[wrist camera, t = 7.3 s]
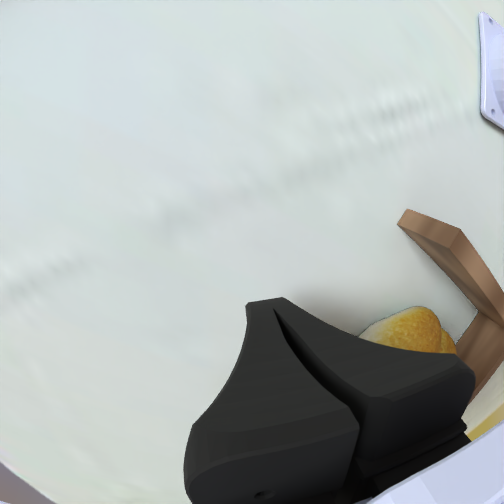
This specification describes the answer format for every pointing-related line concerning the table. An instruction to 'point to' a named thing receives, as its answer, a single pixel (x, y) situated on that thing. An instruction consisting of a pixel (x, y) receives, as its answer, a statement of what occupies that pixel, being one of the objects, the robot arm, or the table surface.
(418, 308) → the bread roll
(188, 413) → the table surface
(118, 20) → the table surface
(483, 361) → the box
